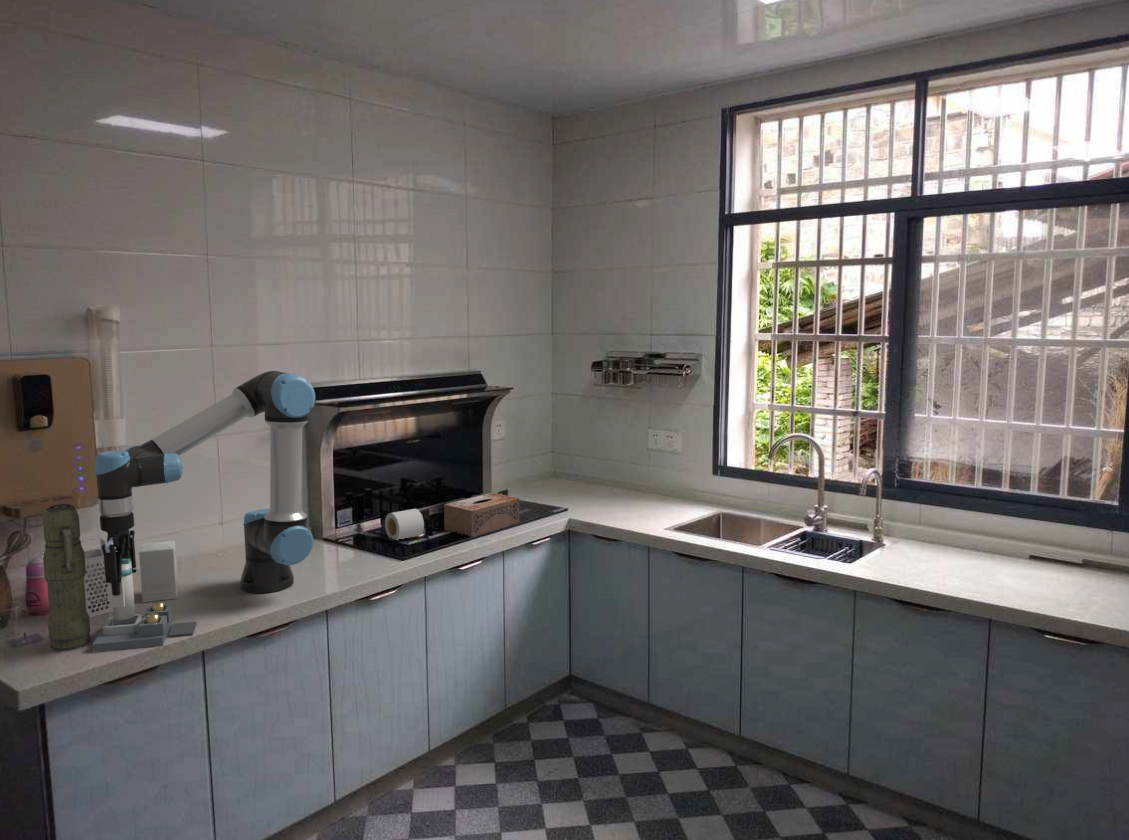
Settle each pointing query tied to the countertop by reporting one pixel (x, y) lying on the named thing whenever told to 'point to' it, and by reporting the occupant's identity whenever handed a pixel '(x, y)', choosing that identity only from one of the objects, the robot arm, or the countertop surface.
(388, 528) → the toilet paper
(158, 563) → the supplement box
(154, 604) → the plunger
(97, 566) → the grater
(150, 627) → the housing
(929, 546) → the countertop surface
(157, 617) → the plunger
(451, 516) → the tissue box cover
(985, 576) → the countertop surface
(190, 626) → the mat
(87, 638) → the thermos
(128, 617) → the cartridge
